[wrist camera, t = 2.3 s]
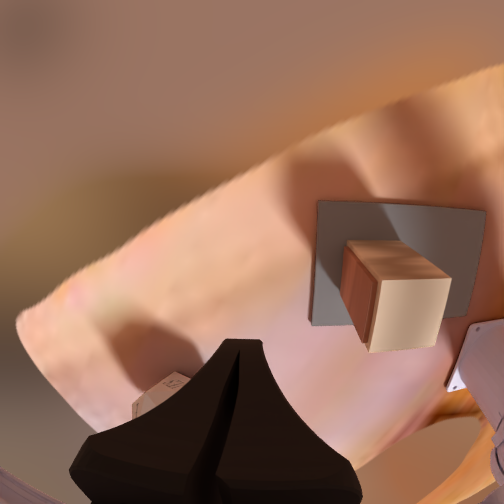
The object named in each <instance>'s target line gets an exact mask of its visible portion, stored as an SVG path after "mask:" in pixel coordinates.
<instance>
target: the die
mask: <svg viewBox="0 0 504 504" xmlns="http://www.w3.org/2000/svg"><path fill="white" fill-rule="evenodd" d="M189 380H190V378H188V377H186V376H184V375H181V374H179V373H177V372H175V371H174V372H173V373H172V374H170V375H169V376H167V377H166V378H165V379H163V380H162V381H160V382H159V383H158V384H156V385H155V386H153V387H152V388H150V389H149V390H148V391H146V392H145V393H144V394H143V395H142V396H141V397H139V398H138V399H137V400H136V401H135V402H134V403H133V404H132V420H133V419H135V418H137V417H139V416H141V415H143V414H145V413H146V412H148V411H150V410H151V409H153V408H155V407H156V406H158V405H159V404H161V403H162V402H164V401H165V400H167V399H168V398H169V397H171V396H172V395H173V394H175V393H176V392H177V391H178V390H179V389H181V388H182V387H183V386H184V385H185V384H186V383H187V382H188V381H189Z"/></svg>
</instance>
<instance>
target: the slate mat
mask: <svg viewBox="0 0 504 504" xmlns="http://www.w3.org/2000/svg"><path fill="white" fill-rule="evenodd" d="M485 220H486V211H481V210H471V209H461V208H449V207H437V206H424V205H409V204H392V203H373V202H348V201H318V216H317V242H316V262H315V279H314V294H313V307H312V319H311V325H312V326H338V325H354V324H353V322H352V320H351V317H350V315H349V313H348V311H347V309H346V307H345V304H344V302H343V300H342V298H341V296H340V287H341V277H342V266H343V253H344V246H347V240H389V241H402V242H403V243H405V244H406V245H407V246H409V247H410V248H412V249H413V250H415V251H416V252H417V253H419V254H420V255H421V256H423V257H424V258H426V259H427V260H428V261H430V262H431V263H432V264H434V265H435V266H436V267H438V268H439V269H440V270H442V271H443V272H444V273H446V274H447V275H448V276H450V277H451V278H452V280H451V284H450V289H449V293H448V298H447V302H446V306H445V310H444V314H443V317H442V319H443V318H452V317H461V316H466V314H467V310H468V307H469V303H470V299H471V295H472V291H473V287H474V283H475V278H476V274H477V269H478V264H479V259H480V253H481V248H482V241H483V235H484V228H485Z"/></svg>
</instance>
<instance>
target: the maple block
mask: <svg viewBox="0 0 504 504" xmlns="http://www.w3.org/2000/svg"><path fill="white" fill-rule="evenodd" d="M451 280H452V278H451V277H450V276H448V275H447V274H446V273H444V272H443V271H442V270H440V269H439V268H438V267H436V266H435V265H434V264H432V263H431V262H430V261H428V260H427V259H426V258H424V257H423V256H421V255H420V254H419V253H417V252H416V251H415V250H413V249H412V248H410V247H409V246H407V245H406V244H405V243H403V242H402V241H389V240H347V246H344V253H343V266H342V277H341V287H340V296H341V298H342V300H343V302H344V304H345V307H346V309H347V311H348V313H349V315H350V317H351V320H352V322H353V324H354V326H355V329H356V331H357V333H358V335H359V338H360V340H361V342H362V343H365V346H366V348H367V350H368V352H369V353H376V352H387V351H398V350H407V349H416V348H424V347H431V346H434V345H435V341H436V338H437V335H438V332H439V328H440V325H441V321H442V317H443V314H444V310H445V306H446V302H447V298H448V293H449V289H450V284H451Z"/></svg>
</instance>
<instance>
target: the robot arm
mask: <svg viewBox="0 0 504 504" xmlns="http://www.w3.org/2000/svg"><path fill="white" fill-rule="evenodd" d="M262 344H263V342H262V341H261V340H260V339H225V340H224V341H223V342H222V344H221V345H220V346H219V348H218V349H217V350H216V352H215V353H214V354H213V355H212V357H211V358H210V359H209V360H208V361H207V363H206V364H205V365H204V366H203V367H202V368H201V369H200V370H199V371H198V372H197V373H196V374H195V375H194V376H193V377H192V378H191V379H190V380H189V381H188V382H187V383H186V384H185V385H184V386H183V387H182V388H181V389H179V390H178V391H177V392H176V393H175V394H173V395H172V396H171V397H169V398H168V399H167V400H165V401H164V402H162V403H161V404H159V405H158V406H156V407H155V408H153V409H151V410H150V411H148V412H146V413H145V414H143V415H141V416H139V417H137V418H135V419H133V420H131V421H129V422H127V423H124V424H122V425H120V426H117V427H115V428H112V429H109V430H106V431H103V432H100V433H97V434H94V435H91V436H89V437H88V438H87V440H86V441H85V442H84V444H83V445H82V447H81V449H80V451H79V452H78V454H77V456H76V458H75V459H74V461H73V463H72V465H71V467H70V469H69V473H70V476H71V478H72V479H73V481H74V482H75V484H77V486H78V487H79V488H80V489H81V490H82V491H83V492H84V494H85V495H86V496H87V497H88V498H89V499H90V500H91V501H92V502H91V504H360V503H361V500H362V497H363V495H362V489H361V486H360V483H359V480H358V478H357V475H356V473H355V471H354V469H353V467H352V465H351V463H350V461H349V460H347V459H346V458H344V457H343V456H342V455H340V454H339V453H337V452H336V451H335V450H334V449H332V448H331V447H330V446H329V445H327V444H326V443H325V442H324V441H323V440H322V439H321V438H319V437H318V436H317V435H316V434H315V433H314V432H313V431H312V430H311V429H310V428H309V426H308V425H307V424H306V423H305V422H304V421H303V420H302V419H301V418H300V417H299V415H298V414H297V413H296V412H295V410H294V409H293V408H292V406H291V405H290V404H289V402H288V401H287V399H286V398H285V396H284V395H283V393H282V392H281V390H280V388H279V386H278V385H277V383H276V381H275V379H274V377H273V375H272V373H271V370H270V368H269V366H268V363H267V361H266V358H265V355H264V351H263V345H262ZM463 388H467V389H468V390H469V392H470V393H471V395H472V396H473V398H474V399H475V401H476V402H477V404H478V405H479V407H480V408H481V410H482V411H483V413H484V415H485V416H486V418H487V419H488V421H489V423H490V424H491V426H492V427H493V429H494V431H495V432H496V433H495V435H494V436H493V437H492V438H491V439H492V441H493V443H494V445H495V447H494V448H493V449H492V451H491V458H490V459H491V461H490V466H491V471H492V474H493V476H494V478H495V480H496V481H497V483H498V484H499V485H500V486H499V487H498V488H496V489H495V490H494V491H492V492H491V493H490V494H489V495H488V496H487V497H486V498H485V499H484V500H483V501H482V502H480V503H478V504H504V319H498V320H492V321H486V322H480V323H474V324H472V325H470V327H469V329H468V332H467V335H466V338H465V341H464V344H463V346H462V349H461V352H460V355H459V357H458V360H457V362H456V365H455V368H454V370H453V372H452V375H451V377H450V380H449V382H448V384H447V387H446V390H447V392H451V391H455V390H459V389H463ZM0 504H65V503H63V502H61V501H59V500H57V499H55V498H53V497H51V496H49V495H47V494H45V493H43V492H41V491H40V490H37V489H36V488H34V487H32V486H30V485H29V484H27V483H25V482H24V481H22V480H20V479H19V478H17V477H16V476H14V475H12V474H11V473H9V472H8V471H6V470H5V469H3V468H1V467H0Z"/></svg>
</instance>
